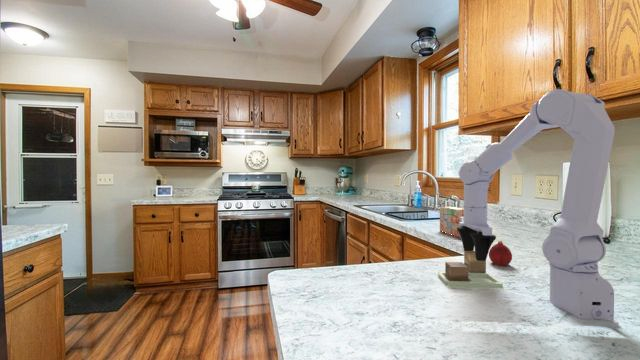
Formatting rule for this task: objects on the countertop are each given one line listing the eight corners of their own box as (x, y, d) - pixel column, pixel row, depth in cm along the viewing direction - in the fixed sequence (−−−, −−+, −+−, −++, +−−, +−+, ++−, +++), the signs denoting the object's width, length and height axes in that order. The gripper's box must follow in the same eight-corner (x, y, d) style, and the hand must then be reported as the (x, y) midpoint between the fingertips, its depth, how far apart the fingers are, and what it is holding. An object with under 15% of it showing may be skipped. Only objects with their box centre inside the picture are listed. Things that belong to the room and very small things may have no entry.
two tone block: (485, 277, 77) (485, 255, 77) (470, 277, 77) (470, 254, 77) (478, 272, 81) (479, 251, 81) (464, 272, 81) (464, 250, 81)
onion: (515, 271, 81) (516, 243, 81) (493, 270, 82) (493, 242, 82) (506, 265, 87) (507, 239, 87) (485, 264, 88) (486, 238, 88)
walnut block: (468, 283, 69) (468, 267, 69) (451, 283, 69) (451, 266, 69) (461, 277, 73) (461, 262, 73) (445, 277, 73) (445, 261, 73)
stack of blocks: (483, 241, 120) (483, 211, 119) (469, 241, 118) (470, 211, 118) (450, 231, 141) (451, 206, 140) (439, 231, 140) (439, 206, 139)
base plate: (508, 295, 65) (508, 286, 65) (449, 293, 67) (449, 284, 66) (486, 279, 75) (486, 271, 75) (435, 277, 76) (435, 270, 76)
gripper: (450, 203, 86) (449, 248, 87) (471, 210, 72) (470, 264, 72) (474, 204, 86) (474, 249, 86) (501, 210, 71) (500, 264, 71)
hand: (474, 256), depth 79 cm, fingers open, 7 cm apart
